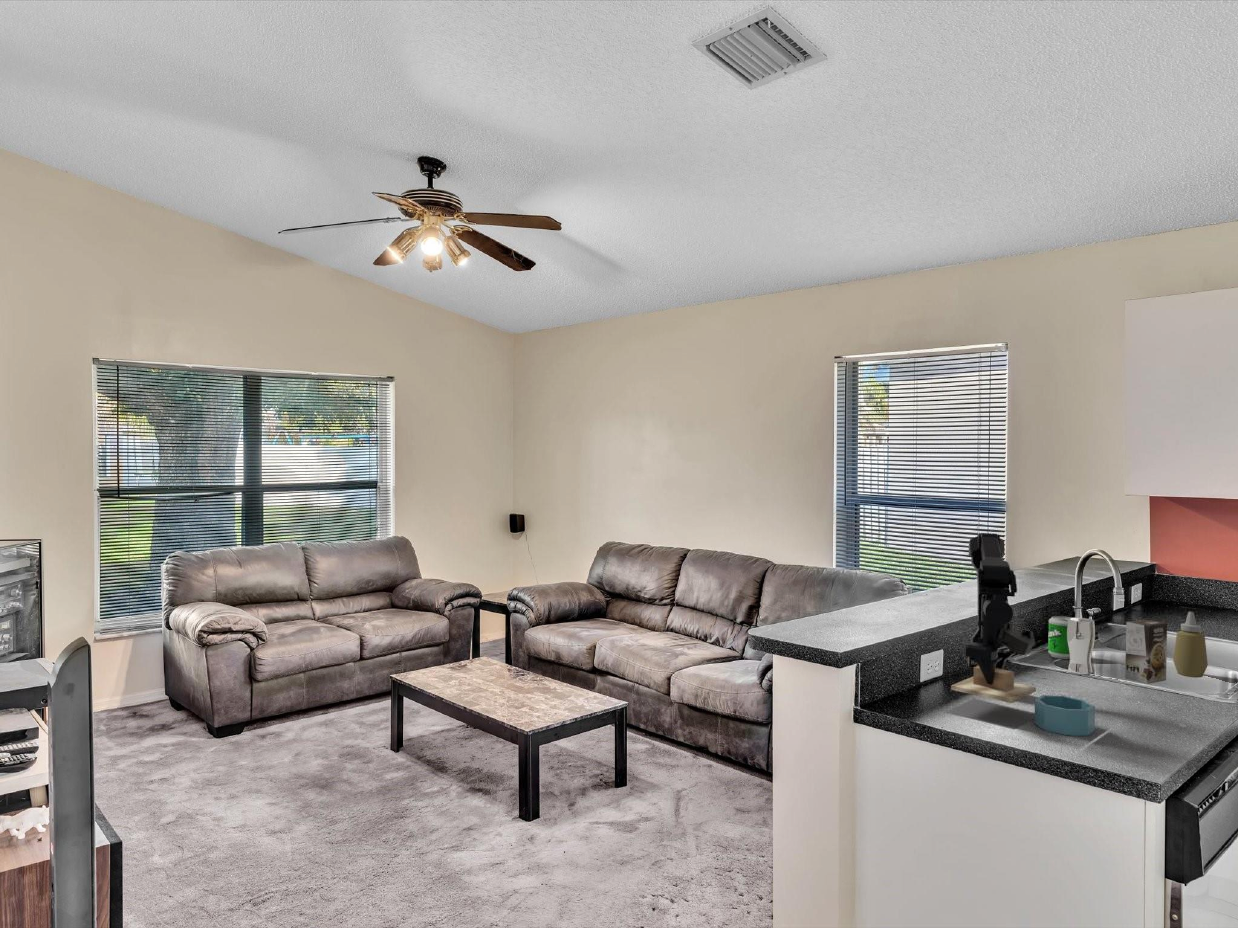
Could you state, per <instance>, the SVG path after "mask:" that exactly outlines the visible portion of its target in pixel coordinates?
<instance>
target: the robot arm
mask: <svg viewBox="0 0 1238 928" xmlns="http://www.w3.org/2000/svg"><path fill="white" fill-rule="evenodd" d="M1005 552H1006V551H1005V540H1004V539H1002V538H1001V536H1000V534H997V533H993V532H991V533H989V532H981V533H978V534H977V536H975V537H972V538H970V539H969V542H968V557H969V558H970V557H971V558H970V561H971V565H972V567H973V568H974V569H975V571H976V574H977V575H976V579H977V580H976V583H977V629H976V630H975V632H974V633H973V635H972V636H971V639H970V643H969V644H967V645H966V646H965V647H964V657H967V665H968V668H970V678H971V677H973V675H974V667H976V666H979V667H980V669H981V671H982V673H983V675H984V678H985V680H986V682H987V684H990V685H992V684H993V680H994V674H995V668H997V669H1003V670H1006V668H1007V667H1006V665H1007V660H1008V659H1009V658H1011V657H1012V656H1014V655H1015V654H1016V653H1017V654H1019V655H1021V656H1026V655H1027V654H1030V653H1031V650H1032V648H1033V647H1034V646H1035V645H1036V641H1035V640H1036V638H1035V635H1034V632H1033V631H1032V630H1029V629H1025V630H1023V631H1022V632H1021V631H1020V630H1018V631H1017V630H1014V629H1013V624H1012V619H1013V617H1014V616H1013V615H1014V610H1013V608H1012V607H1011V605H1010V603H1009V598H1008V597H1012V598H1013V597H1016V595H1015V594H1017V592H1018V586H1017V576H1016V574H1015V571H1014V570H1013V569H1011V565H1010V563H1009V562H1008V561H1006V560H1004V557H1005V554H1006V553H1005ZM1010 649H1011V650H1013V651H1010Z"/></svg>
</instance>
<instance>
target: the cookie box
mask: <svg viewBox="0 0 1238 928" xmlns="http://www.w3.org/2000/svg"><path fill="white" fill-rule="evenodd" d="M1125 627H1126V630H1125V635H1126V636H1125V661H1124V662H1125V668H1124V678H1125V680H1129V681H1133V682H1137V683H1141V684H1145V685H1149V684H1154V683H1160V682H1166V681H1167V657H1168V656H1167V655H1168V654H1167V653H1168V652H1167V651H1168V644H1167V643H1168V623H1167V622H1164V621H1157V620H1150V619H1138V620H1131V621H1129V620H1128V621H1126V626H1125Z"/></svg>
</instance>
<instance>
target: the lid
mask: <svg viewBox="0 0 1238 928" xmlns="http://www.w3.org/2000/svg"><path fill="white" fill-rule="evenodd" d="M950 690H951V691H955V692H960V693H965V694H969V695H974V696H978V697H982V698H987V699H990V700H996V701H1000V702H1004V703H1008V704H1013V703H1015V702H1018V701H1020V700H1022V699H1023V698H1025V697H1027V696H1030V695H1032V694H1033V693H1035V692H1036V691H1037V687H1036V686H1031V685H1026V684H1023V683H1022V684H1021V683H1016V682H1015V672H1014V671H1012V670H1006V669H1004V670H1003V669H997V668H995V674H994V680H993V684H992V685H990V684H987V682H986V680H985V678H984V675H983V673H982V671H981V669H980V667H979V666H976V667H974V675H973V677H971V676H970V677H968V678H966V679H963V680H961V681H959V682H956V683H953V684H952V685H950Z"/></svg>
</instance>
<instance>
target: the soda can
mask: <svg viewBox="0 0 1238 928" xmlns="http://www.w3.org/2000/svg"><path fill="white" fill-rule="evenodd" d="M1068 618H1070V617H1069V616H1064V615H1062V616H1061V615H1059V616H1058V615H1056V616H1055V615H1054V616H1051V618H1049V619H1048V645H1047V648H1048V651H1047V653H1048V654H1049V655H1050V656H1051V657H1052V658H1056V659H1060V660H1070V653H1069V647H1068V641H1067V625H1068Z"/></svg>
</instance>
